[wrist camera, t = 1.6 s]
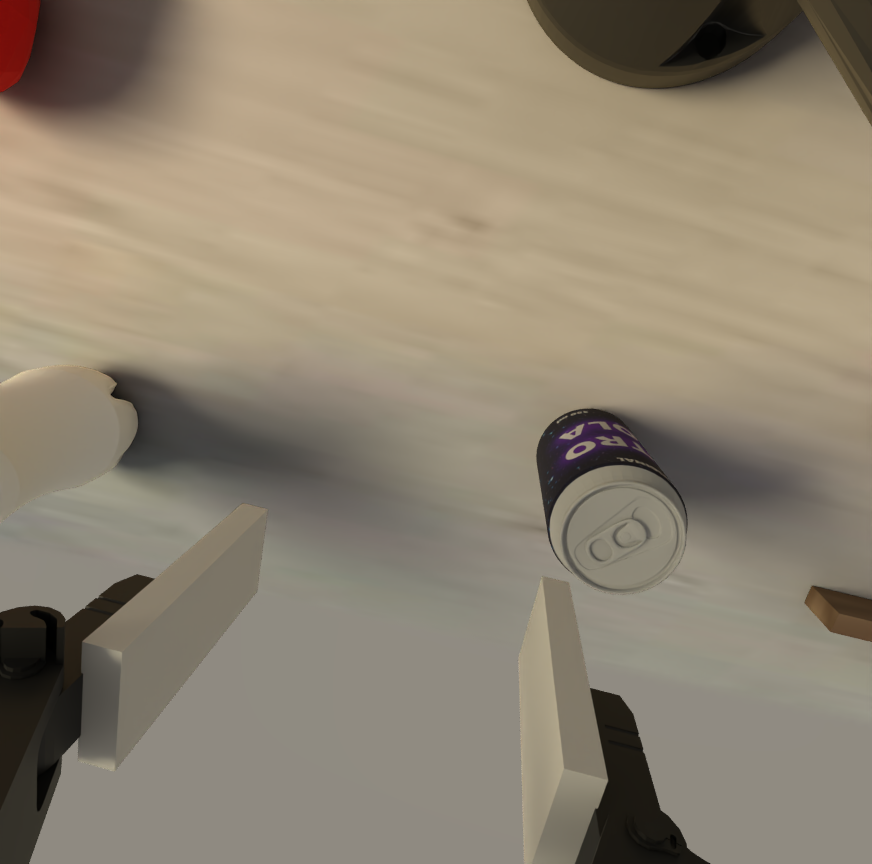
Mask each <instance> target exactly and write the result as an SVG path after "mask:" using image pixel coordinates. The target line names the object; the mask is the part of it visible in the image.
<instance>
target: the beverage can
mask: <svg viewBox="0 0 872 864" xmlns="http://www.w3.org/2000/svg"><path fill="white" fill-rule="evenodd" d="M537 467H538V473H539V479H540V486H541V492H542V499H543V505H544V511H545V518H546V524H547V531H548V537H549V541H550V544H551V547H552V549H553V552H554V553H555V555H556V557H557V558H558V560H559V561H560V562H561V564H562V565H563V566H564V567H565V568H566V569H567V570H568V571H570V572H571V573H572V574H574V576H576V577H577V578H578V579H579V580H580V581H581V582H583V583H584V584H586V585H587V586H589V587H591V588H593V589H595V590H598V591H601V592H604V593H610V594H621V595H625V594H634V593H638V592H642V591H645V590H648V589H650V588H652V587H654V586H656V585H658V584H659V583H661V582H662V581H664V580H665V579H666V578H667V577H668V576H669V575H670V574H671V573H672V572H673V571H674V570H675V568H676V567H677V566H678V564H679V563H680V560H681V558H682V556H683V554H684V550H685V546H686V533H687V513H686V508H685V505H684V502H683V500H682V498H681V496H680V494H679V492H678V491H677V490H676V488H675V487H674V486H673V484H672V483H671V482H670V480H669V479H668V478H667V477H666V475H665V474H664V473H663V472H662V470H661V469H660V468H659V467H658V465H657V464H656V463H655V461H654V460H653V459H652V458H651V456H650V455H649V454H648V453H647V451H646V450H645V449H644V447H643V446H642V445H641V444H640V442H639V441H638V440H637V439H636V437H635V436H634V435H633V434H632V432H631V431H630V430H629V428H628V427H627V426H626V425H625V424H624V423H623V422H622V421H621V420H620V419H618V418H617V417H615V416H614V415H612V414H610V413H608V412H605V411H602V410H597V409H580V410H575V411H571V412H569V413H566V414H564V415H562V416H560V417H559V418H557V419H556V420H555V421H553V422H552V423H551V424H550V425H549V426H548V427H547V429H546V430H545V431H544V433H543V435H542V436H541V439H540V441H539V444H538V448H537Z"/></svg>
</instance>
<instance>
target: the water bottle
mask: <svg viewBox="0 0 872 864" xmlns="http://www.w3.org/2000/svg"><path fill="white" fill-rule="evenodd" d="M116 385H117V383H116V382H114V380H113V379H112V378H111V377H109V376H107V375H105V374H103V373H101V372H99V371H97V370H93V369H89V368H85V367H81V366H73V365H55V366H48V367H43V368H38V369H32V370H28V371H24V372H22V373H19V374H17V375H16V376H14V377H12V378H10V379H8V380H6V381H4V382H2V383H0V523H2V522H3V521H4V520H5V519H6V518H7V517H8V516H10V515H11V514H12V513H14V512H15V511H16V510H18V509H19V508H20V507H22V506H23V505H25V504H26V503H28V502H30V501H32V500H34V499H36V498H38V497H40V496H43V495H45V494H48V493H51V492H55V491H59V490H64V489H70V488H75V487H79V486H82V485H84V484H86V483H88V482H90V481H92V480H94V479H96V478H98V477H100V476H102V475H103V474H105V473H107V472H108V471H110V470H111V469H113V468H114V467H115V466H116V465H117V464H118V462H119V461H120V459H121V458H122V456H123V453H124V452H125V451H126V450H127V449H128V447H129V446H130V445H131V443H132V441H133V439H134V437H135V435H136V432H137V428H138V417H137V412H136V410H135V408H134V407H133V404H132V403H130V402H128V401H126V400H121V399H115V398H114V397H112V396H111V395H110V394H111V393H112V392H113V390H114V388H115V386H116Z"/></svg>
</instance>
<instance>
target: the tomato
mask: <svg viewBox="0 0 872 864" xmlns="http://www.w3.org/2000/svg"><path fill="white" fill-rule="evenodd" d="M39 8H40V0H0V92H3V91H5V90H6V89H8V88H9V87H11V86H12V85H14V84H15V83H17V82H18V81H19V80H20V78H21V76H22V74H23V71H24V69H25V67H26V65H27V63H28V60H29V58H30V55H31V50H32V46H33V41H34V36H35V31H36V26H37V20H38V14H39Z"/></svg>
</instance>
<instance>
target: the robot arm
mask: <svg viewBox="0 0 872 864" xmlns="http://www.w3.org/2000/svg"><path fill="white" fill-rule="evenodd" d="M527 1H528V4H529V6H530V8H531V10H532V12H533V14H534V16H535V17H536V19H537V21H538V22H539V24H540V26H541V27H542V28H543V30H544V31H545V33H546V34H547V35H548V37H549V38H550V39H551V40H552V41H553V43H554V44H555V45H556V46H557V47H558V48H559V49H560V50H561V51H562V52H563V53H564V54H565V55H567V56H568V57H569V58H570V59H571V60H573V61H574V62H575V63H577V64H578V65H579V66H581V67H583V68H584V69H586V70H588V71H589V72H591V73H593V74H595V75H597V76H599V77H602V78H604V79H607V80H609V81H612V82H616V83H619V84H623V85H628V86H634V87H642V88H667V87H675V86H681V85H686V84H691V83H694V82H698V81H701V80H704V79H707V78H710V77H713V76H715V75H717V74H720V73H722V72H724V71H726V70H728V69H730V68H732V67H734V66H736V65H737V64H739V63H741V62H742V61H744V60H745V59H747V58H749V57H750V56H751V55H753V54H754V53H756V52H757V51H758V50H760V49H761V48H762V47H763V46H765V45H766V44H767V43H768V42H769V41H771V40H772V39H773V38H774V37H775V36H776V35H777V34H778V33H779V32H781V31H782V30H783V29H784V28H785V27H786V26H787V25H788V24H789V23H790V22H792V21H793V20H794V19H795V18H796V17H797V16H798V15H799V14H800V13H801V12H802V11H804V13H805V15H806V16H807V18H808V20H809V21H810V23H811V25H812V26H813V28H814V30H815V32H816V33H817V35H818V37H819V38H820V40H821V42H822V43H823V45H824V47H825V48H826V50H827V52H828V53H829V55H830V57H831V58H832V60H833V62H834V64H835V65H836V67H837V69H838V70H839V72H840V74H841V75H842V77H843V79H844V80H845V82H846V84H847V85H848V87H849V89H850V91H851V92H852V94H853V96H854V97H855V99H856V101H857V102H858V104H859V106H860V107H861V109H862V111H863V112H864V114H865V116H866V117H867V119H868V121H869V123H870V124H871V126H872V0H527ZM267 514H268V509H265V508H261V507H257V506H253V505H249V504H244V503H242V504H241V505H240V506H239V507H238V508H237V509H235V510H234V511H233V512H232V513H231V514H230V515H228V516H227V517H226V518H225V519H224V520H223V521H222V522H220V523H219V524H218V525H217V526H216V527H215V528H213V529H212V530H211V531H210V532H209V533H208V534H206V535H205V536H204V537H203V538H202V539H201V540H199V541H198V542H197V543H196V544H195V545H194V546H193V547H191V548H190V549H189V550H188V551H187V552H186V553H184V554H183V555H182V556H181V557H180V558H179V559H177V560H176V561H175V562H174V563H173V564H172V565H170V566H169V567H168V568H167V569H166V570H165V571H164V572H162V573H161V574H160V575H159V576H158V577H157V578H155V579H154V578H150V577H146V576H142V575H138V574H137V575H134V576H132V577H129V578H127V579H124V580H122V581H119V582H117V583H115V584H113V585H112V586H111V587H110V588H108V589H107V590H106V591H105V592H103V593H102V594H101V595H99V598H98V599H97V598H96V599H94V600H93V601H92V602H90V603H89V604H88V605H87V606H86V608H85V609H82V610H80V611H79V612H78V613H76V614H75V615H74V616H73V617H72V618H70V619H69V620H68V621H66V622H65V618H64V616H63V615H62V614H61V613H60V612H59V611H57V610H54V609H52V608H49V607H42V606H27V607H18V608H14V609H10V610H7V611H3V612H1V613H0V864H29V862H30V859H31V856H32V853H33V851H34V848H35V845H36V842H37V839H38V836H39V834H40V831H41V828H42V825H43V822H44V819H45V817H46V814H47V811H48V808H49V805H50V803H51V800H52V797H53V794H54V791H55V788H56V786H57V783H58V780H59V777H60V774H61V764H62V755H63V754H64V753H65V752H66V751H67V750H68V748H70V746H71V745H72V744H73V743H74V742H75V741H76V740H77V739H78V738H79V740H78V761H79V762H84V763H87V764H90V765H94V766H97V767H101V768H105V769H108V770H112V771H115V770H116V769H117V768H118V767H119V765H120V764H121V763H122V762H123V760H124V759H125V758H126V757H127V755H128V754H129V753H130V751H131V750H132V749H133V748H134V746H135V745H136V744H137V743H138V742H139V740H140V739H141V738H142V736H143V735H144V734H145V733H146V731H147V730H148V729H149V728H150V726H151V725H152V724H153V722H154V721H155V720H156V719H157V717H158V716H159V715H160V714H161V712H162V711H163V710H164V708H165V707H166V706H167V705H168V704H169V702H170V701H171V700H172V699H173V697H174V696H175V695H176V693H177V692H178V691H179V690H180V688H181V687H182V686H183V685H184V683H185V682H186V681H187V680H188V678H189V677H190V676H191V675H192V673H193V672H194V671H195V669H196V668H197V667H198V666H199V664H200V663H201V662H202V661H203V659H204V658H205V657H206V655H207V654H208V653H209V652H210V650H211V649H212V648H213V647H214V645H215V644H216V643H217V642H218V640H219V639H220V638H221V636H222V635H223V634H224V633H225V632H226V630H227V629H228V628H229V626H230V625H231V624H232V623H233V621H234V620H235V619H236V618H237V616H238V615H239V614H240V612H241V611H242V610H243V609H244V607H245V606H246V605H247V604H248V602H249V601H250V600H251V599H252V597H253V596H254V595H255V594H256V592H257V589H258V581H259V574H260V566H261V559H262V551H263V544H264V536H265V529H266V521H267ZM519 692H520V728H521V765H522V799H523V836H524V864H710V863H708V862H706V861H705V860H703V859H701V858H700V857H699V856H697V855H695V854H694V853H693V852H691V851H690V850H689V849H688V848H687V844H686V842H685V839H684V837H683V835H682V833H681V831H680V829H679V828H678V827H677V826H676V824H675V823H674V822H673V821H672V820H671V819H670V817H669V816H668V815H666V814H665V813H663V812H662V811H661V810H660V806H659V803H658V799H657V796H656V792H655V789H654V785H653V782H652V778H651V775H650V771H649V768H648V764H647V761H646V757H645V754H644V753H643V747H642V743H641V740H640V737H638V734H639V733H638V729H637V726H636V722H635V719H634V715H633V713H632V712H631V711H630V709H629V708H628V706H627V705H626V704H625V702H624V701H623V700H622V698H621V697H620V696H619V695H615V694H612V693H607V692H604V691H600V690H596V689H592V688H590V686H589V681H588V676H587V671H586V666H585V661H584V656H583V651H582V646H581V641H580V636H579V631H578V626H577V621H576V615H575V610H574V605H573V600H572V595H571V590H570V585H569V583H568V582H564V581H560V580H556V579H552V578H548V577H543V576H542V578H541V582H540V585H539V589H538V592H537V596H536V599H535V603H534V606H533V609H532V613H531V616H530V620H529V623H528V627H527V630H526V634H525V637H524V641H523V644H522V647H521V651H520V654H519Z"/></svg>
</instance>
